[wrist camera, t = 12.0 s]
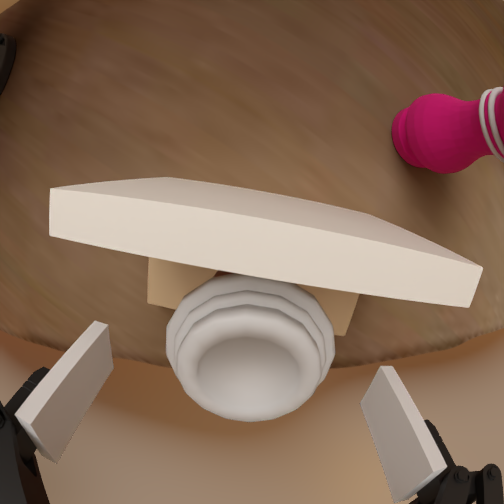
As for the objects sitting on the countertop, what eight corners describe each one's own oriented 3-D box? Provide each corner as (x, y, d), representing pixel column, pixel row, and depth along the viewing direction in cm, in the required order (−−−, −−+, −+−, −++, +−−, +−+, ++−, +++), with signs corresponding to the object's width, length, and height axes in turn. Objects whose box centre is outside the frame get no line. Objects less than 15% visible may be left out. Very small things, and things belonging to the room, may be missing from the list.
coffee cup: (255, 346, 25) (250, 450, 14) (180, 283, 24) (123, 368, 12) (328, 282, 23) (378, 370, 12) (252, 207, 22) (243, 244, 10)
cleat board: (168, 177, 24) (50, 188, 9) (367, 213, 24) (483, 267, 9) (157, 290, 27) (76, 394, 12) (337, 321, 28) (390, 440, 12)
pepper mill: (444, 173, 23) (605, 201, 4) (389, 171, 23) (576, 192, 4) (438, 108, 21) (588, 79, 2) (382, 99, 21) (541, 28, 2)
